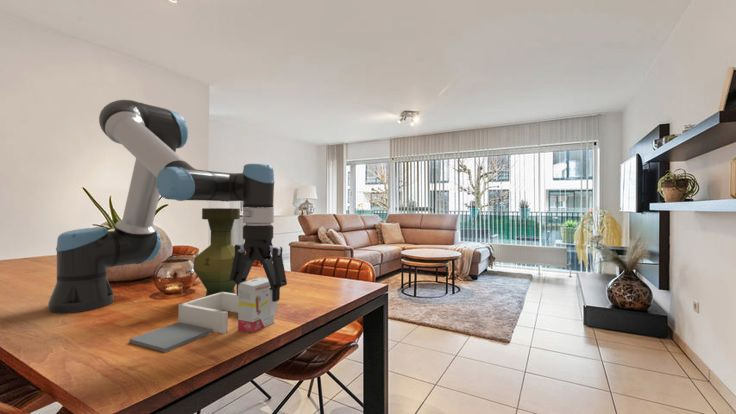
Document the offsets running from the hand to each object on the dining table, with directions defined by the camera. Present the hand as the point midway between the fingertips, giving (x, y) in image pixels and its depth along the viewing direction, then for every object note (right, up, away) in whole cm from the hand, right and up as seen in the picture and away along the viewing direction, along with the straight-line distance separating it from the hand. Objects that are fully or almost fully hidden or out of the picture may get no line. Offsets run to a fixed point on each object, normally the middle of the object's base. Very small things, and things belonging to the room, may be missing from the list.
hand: (257, 311), depth 86 cm
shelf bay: (-11, -4, +5) cm, 13 cm away
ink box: (0, -4, 0) cm, 4 cm away
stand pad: (-18, -4, -8) cm, 20 cm away
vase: (-20, -4, +24) cm, 32 cm away
